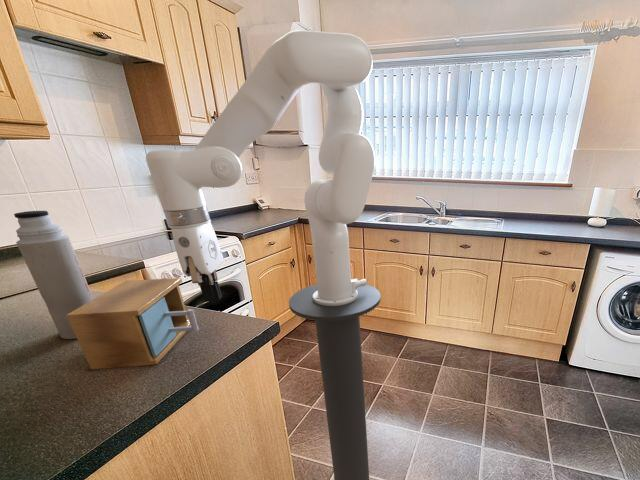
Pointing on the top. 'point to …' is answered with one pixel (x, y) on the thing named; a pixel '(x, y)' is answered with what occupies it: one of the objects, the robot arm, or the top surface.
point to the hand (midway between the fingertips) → (213, 299)
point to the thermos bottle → (53, 267)
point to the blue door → (163, 325)
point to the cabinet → (125, 323)
